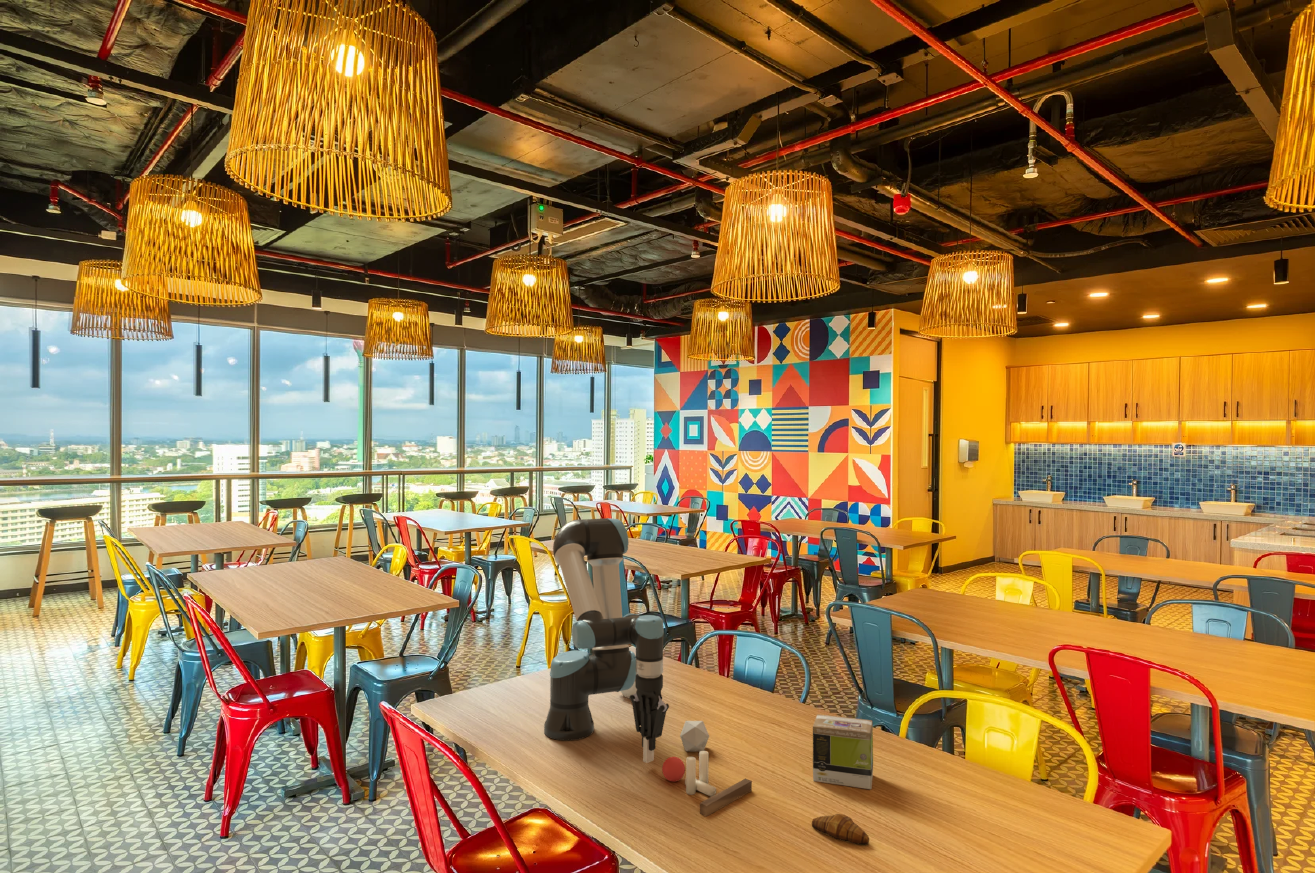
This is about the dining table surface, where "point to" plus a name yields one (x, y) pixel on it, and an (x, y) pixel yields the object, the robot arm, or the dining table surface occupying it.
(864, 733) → the tea box
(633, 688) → the lidded jar
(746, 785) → the back rail
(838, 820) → the croissant
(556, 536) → the robot arm
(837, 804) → the dining table surface
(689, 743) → the die
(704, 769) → the back pin left
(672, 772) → the ball
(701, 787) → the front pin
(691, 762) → the back pin right
